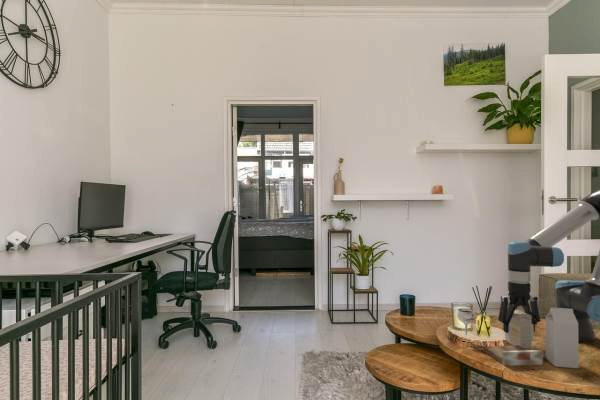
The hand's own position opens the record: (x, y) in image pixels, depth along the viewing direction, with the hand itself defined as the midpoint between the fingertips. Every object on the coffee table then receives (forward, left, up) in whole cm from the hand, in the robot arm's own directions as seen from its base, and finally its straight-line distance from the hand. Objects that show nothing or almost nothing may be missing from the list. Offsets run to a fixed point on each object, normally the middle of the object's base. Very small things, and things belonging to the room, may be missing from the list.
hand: (519, 340), depth 144 cm
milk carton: (-4, +16, -3) cm, 17 cm away
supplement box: (0, 0, -3) cm, 3 cm away
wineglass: (+17, -8, -3) cm, 19 cm away
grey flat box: (+10, +10, -2) cm, 14 cm away
